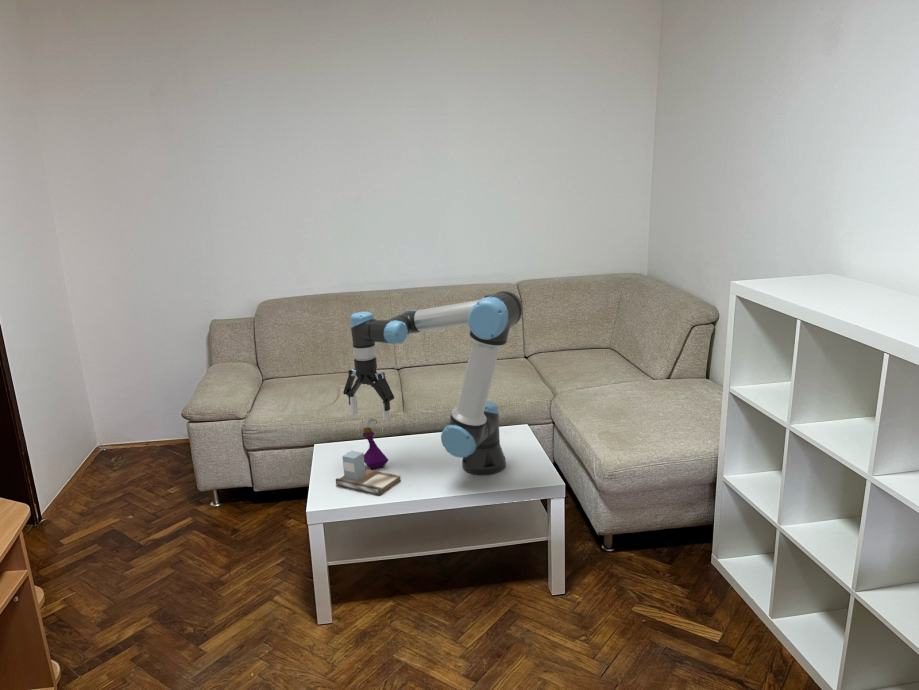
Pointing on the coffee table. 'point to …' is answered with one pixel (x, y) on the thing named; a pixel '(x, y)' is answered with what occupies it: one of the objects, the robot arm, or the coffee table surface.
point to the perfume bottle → (373, 450)
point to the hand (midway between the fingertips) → (370, 416)
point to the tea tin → (354, 465)
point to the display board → (370, 482)
